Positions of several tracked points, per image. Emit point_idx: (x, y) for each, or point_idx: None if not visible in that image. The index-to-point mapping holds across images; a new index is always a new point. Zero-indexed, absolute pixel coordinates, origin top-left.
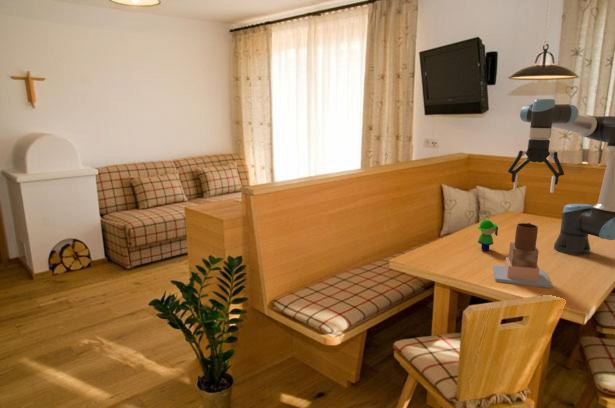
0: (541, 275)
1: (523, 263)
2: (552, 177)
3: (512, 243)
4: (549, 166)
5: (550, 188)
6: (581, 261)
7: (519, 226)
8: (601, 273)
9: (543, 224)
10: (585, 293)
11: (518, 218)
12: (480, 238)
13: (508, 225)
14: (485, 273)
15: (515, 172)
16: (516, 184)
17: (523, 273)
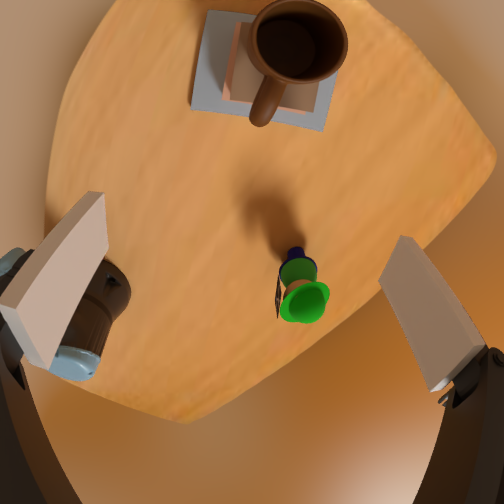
0: (211, 70)
1: None
2: (41, 333)
3: (310, 99)
4: (26, 496)
5: (97, 263)
6: None
7: (344, 28)
8: (63, 151)
9: (140, 391)
10: (137, 5)
11: (177, 408)
12: (316, 274)
13: (199, 387)
14: (352, 87)
15: (497, 368)
16: (427, 271)
17: None
